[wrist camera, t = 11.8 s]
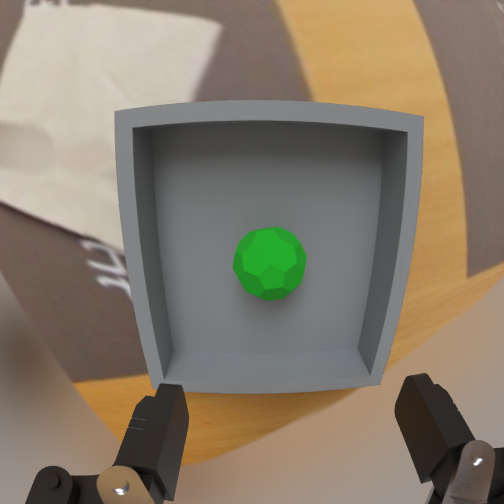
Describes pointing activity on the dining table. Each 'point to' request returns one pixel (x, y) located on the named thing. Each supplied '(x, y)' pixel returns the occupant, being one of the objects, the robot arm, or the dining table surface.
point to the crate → (264, 216)
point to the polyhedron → (269, 263)
